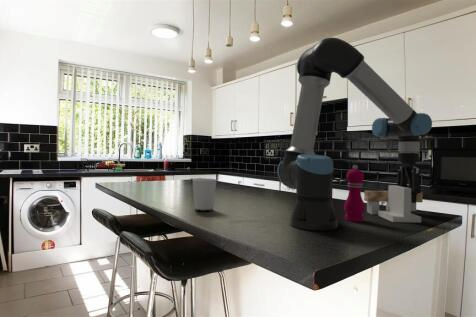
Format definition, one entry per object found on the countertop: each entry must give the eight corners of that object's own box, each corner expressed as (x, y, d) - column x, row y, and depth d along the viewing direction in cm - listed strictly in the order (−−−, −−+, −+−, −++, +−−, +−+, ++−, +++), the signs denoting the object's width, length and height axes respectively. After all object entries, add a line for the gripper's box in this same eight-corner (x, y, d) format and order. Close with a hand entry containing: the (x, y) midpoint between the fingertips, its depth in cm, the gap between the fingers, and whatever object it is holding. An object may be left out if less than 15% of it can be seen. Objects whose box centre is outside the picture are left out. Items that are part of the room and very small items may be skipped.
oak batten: (367, 201, 129) (367, 191, 129) (364, 200, 132) (364, 190, 132) (422, 202, 129) (422, 192, 129) (417, 201, 132) (417, 191, 132)
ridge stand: (392, 222, 114) (393, 188, 114) (378, 215, 126) (378, 185, 126) (421, 222, 114) (421, 188, 114) (403, 216, 126) (404, 185, 125)
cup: (188, 209, 134) (189, 178, 133) (211, 207, 138) (211, 178, 137) (196, 213, 125) (196, 180, 124) (219, 211, 129) (220, 180, 128)
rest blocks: (371, 214, 128) (372, 201, 128) (366, 212, 133) (367, 200, 133) (399, 214, 128) (399, 202, 128) (393, 212, 133) (393, 200, 133)
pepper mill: (361, 218, 119) (362, 164, 119) (367, 222, 112) (368, 165, 112) (341, 217, 120) (342, 164, 119) (346, 222, 113) (347, 165, 112)
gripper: (432, 152, 121) (430, 213, 121) (405, 152, 140) (404, 205, 140) (412, 152, 121) (410, 213, 121) (388, 152, 140) (387, 205, 140)
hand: (407, 209), depth 131 cm, fingers open, 6 cm apart
